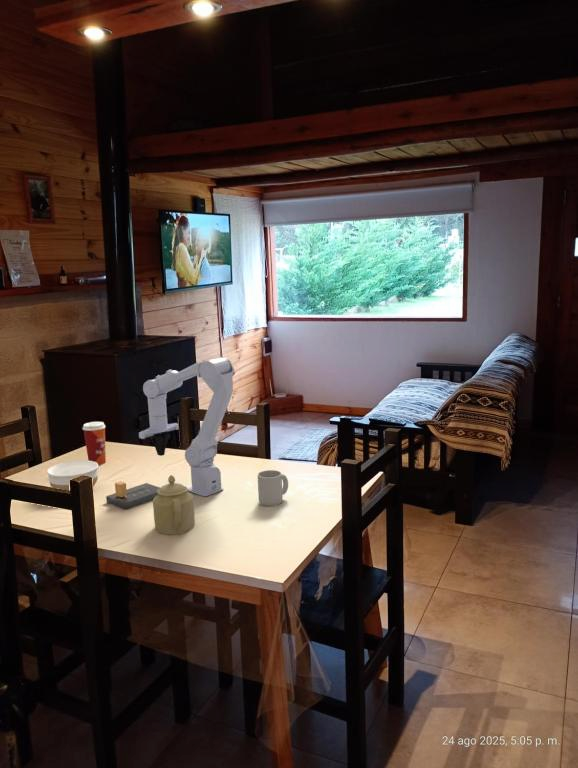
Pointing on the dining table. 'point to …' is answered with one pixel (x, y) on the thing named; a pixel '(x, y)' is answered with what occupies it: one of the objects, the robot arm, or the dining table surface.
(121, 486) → the fader
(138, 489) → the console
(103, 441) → the coffee cup
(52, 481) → the bowl
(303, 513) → the dining table surface
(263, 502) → the cup
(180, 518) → the sugar bowl
